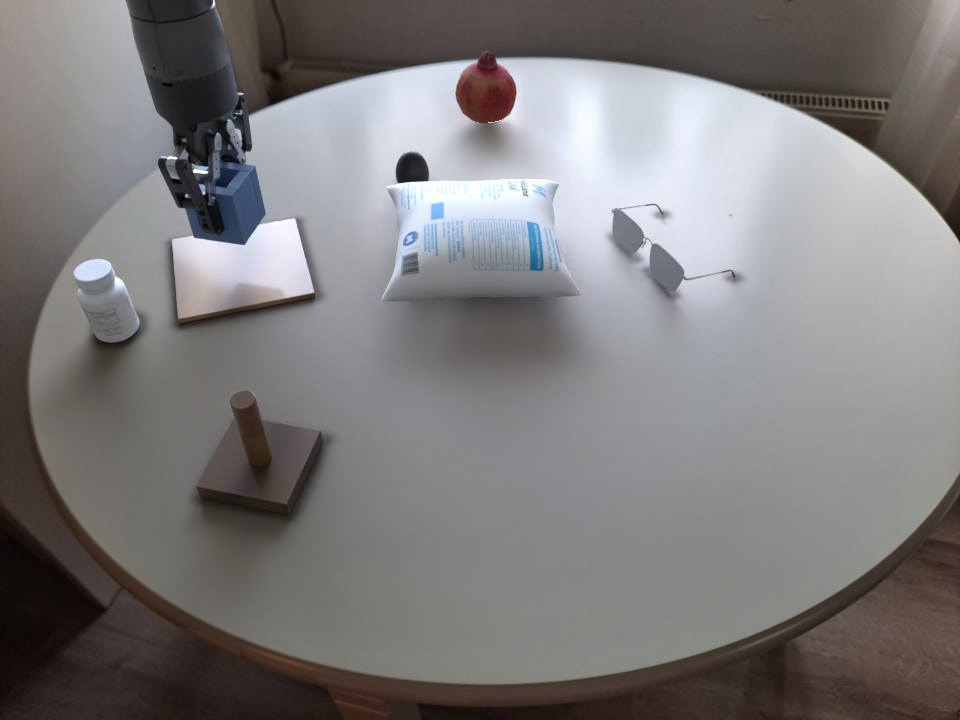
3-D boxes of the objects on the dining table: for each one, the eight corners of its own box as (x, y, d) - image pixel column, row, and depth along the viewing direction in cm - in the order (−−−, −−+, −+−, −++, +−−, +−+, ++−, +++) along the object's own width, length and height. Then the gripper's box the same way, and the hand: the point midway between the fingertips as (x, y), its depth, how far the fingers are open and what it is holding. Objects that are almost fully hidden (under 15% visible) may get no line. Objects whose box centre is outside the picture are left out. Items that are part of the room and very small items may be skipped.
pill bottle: (116, 309, 84) (91, 250, 78) (149, 322, 83) (126, 263, 77) (85, 335, 81) (57, 276, 76) (118, 349, 80) (92, 290, 74)
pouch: (376, 267, 77) (584, 255, 77) (382, 163, 91) (559, 153, 91) (385, 329, 82) (580, 317, 83) (390, 222, 96) (557, 213, 96)
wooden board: (179, 323, 83) (177, 319, 82) (172, 243, 92) (171, 239, 91) (315, 297, 86) (314, 292, 85) (295, 221, 95) (295, 217, 94)
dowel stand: (200, 497, 68) (171, 429, 61) (239, 425, 73) (217, 356, 67) (289, 514, 67) (270, 447, 60) (323, 440, 72) (308, 371, 66)
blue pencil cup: (193, 238, 83) (178, 188, 79) (217, 207, 87) (204, 158, 83) (244, 245, 82) (231, 196, 78) (266, 214, 86) (255, 165, 82)
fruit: (499, 102, 115) (500, 33, 108) (525, 129, 110) (528, 58, 103) (447, 114, 113) (445, 44, 105) (471, 142, 108) (471, 71, 100)
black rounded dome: (391, 182, 101) (388, 147, 97) (421, 174, 102) (419, 139, 98) (404, 199, 98) (401, 163, 95) (434, 191, 99) (433, 155, 96)
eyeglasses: (605, 230, 94) (612, 201, 91) (660, 217, 97) (668, 188, 94) (678, 301, 85) (688, 271, 83) (736, 284, 88) (747, 254, 86)
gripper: (184, 19, 77) (223, 172, 89) (103, 90, 67) (160, 251, 79) (257, 27, 76) (287, 181, 88) (187, 100, 66) (231, 262, 78)
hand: (227, 213), depth 83 cm, fingers closed on blue pencil cup, 5 cm apart
